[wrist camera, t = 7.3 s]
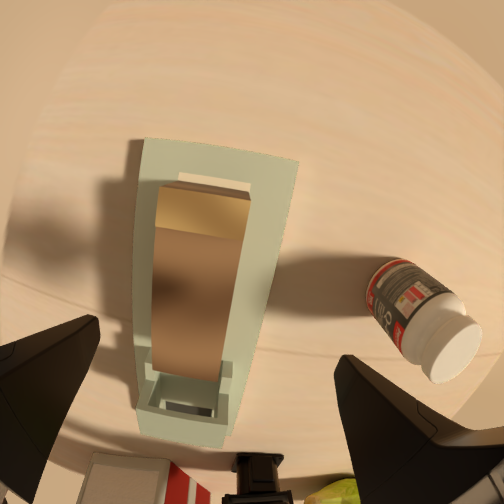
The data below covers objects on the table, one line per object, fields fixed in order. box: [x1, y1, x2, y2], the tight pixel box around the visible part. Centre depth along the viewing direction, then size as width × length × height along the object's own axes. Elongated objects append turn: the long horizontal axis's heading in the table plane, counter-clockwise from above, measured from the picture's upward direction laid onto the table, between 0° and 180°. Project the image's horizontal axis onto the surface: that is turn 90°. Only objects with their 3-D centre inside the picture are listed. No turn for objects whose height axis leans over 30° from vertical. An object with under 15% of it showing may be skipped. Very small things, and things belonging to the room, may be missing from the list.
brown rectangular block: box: [151, 180, 251, 382], centre depth 16 cm, size 12×4×4 cm, turn 169°
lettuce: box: [304, 478, 361, 504], centre depth 30 cm, size 13×23×12 cm, turn 48°
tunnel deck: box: [132, 137, 299, 449], centre depth 18 cm, size 28×10×7 cm, turn 169°
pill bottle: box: [366, 259, 482, 384], centre depth 17 cm, size 6×6×10 cm
